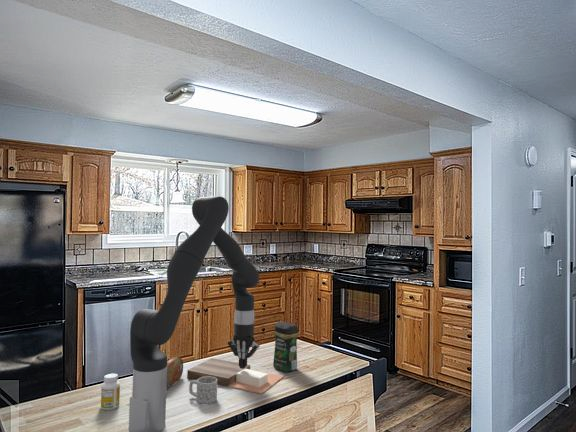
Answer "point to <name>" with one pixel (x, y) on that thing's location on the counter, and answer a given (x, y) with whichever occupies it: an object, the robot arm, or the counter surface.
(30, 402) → the counter surface
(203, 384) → the mug
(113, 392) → the supplement bottle
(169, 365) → the tin
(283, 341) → the coffee jar
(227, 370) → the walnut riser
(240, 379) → the cream block
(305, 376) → the counter surface
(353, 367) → the counter surface
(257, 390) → the terracotta mat
